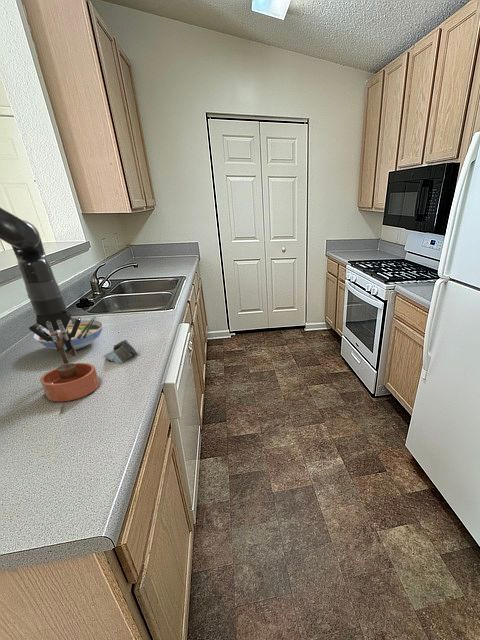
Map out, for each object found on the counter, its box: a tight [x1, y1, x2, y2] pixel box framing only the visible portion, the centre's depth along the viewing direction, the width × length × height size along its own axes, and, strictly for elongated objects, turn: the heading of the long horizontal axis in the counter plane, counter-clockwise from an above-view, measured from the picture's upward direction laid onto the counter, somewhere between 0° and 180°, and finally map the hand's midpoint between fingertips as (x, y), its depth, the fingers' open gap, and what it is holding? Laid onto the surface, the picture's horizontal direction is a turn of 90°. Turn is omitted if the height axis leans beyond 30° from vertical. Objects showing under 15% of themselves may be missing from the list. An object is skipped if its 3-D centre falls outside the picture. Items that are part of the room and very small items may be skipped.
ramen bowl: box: [33, 316, 104, 351], centre depth 128 cm, size 25×23×8 cm
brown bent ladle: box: [55, 329, 78, 379], centre depth 102 cm, size 18×5×10 cm, turn 26°
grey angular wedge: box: [105, 339, 138, 364], centre depth 119 cm, size 10×7×12 cm
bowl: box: [39, 362, 100, 403], centre depth 99 cm, size 14×14×6 cm
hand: (66, 351), depth 102 cm, fingers closed on brown bent ladle, 1 cm apart
